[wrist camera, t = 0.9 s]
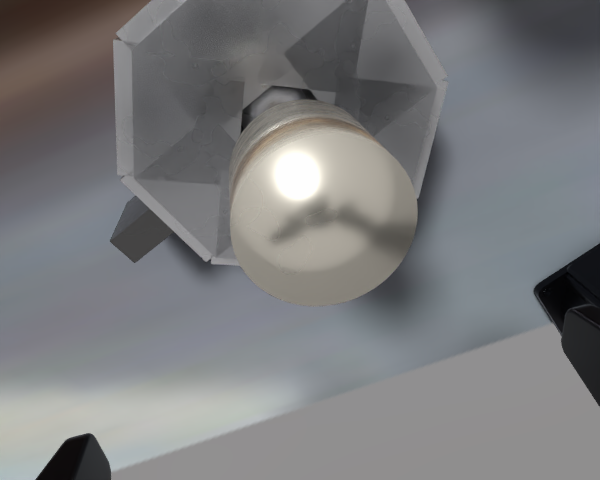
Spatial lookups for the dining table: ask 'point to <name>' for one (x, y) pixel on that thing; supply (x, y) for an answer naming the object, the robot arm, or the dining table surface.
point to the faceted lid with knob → (246, 88)
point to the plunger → (315, 201)
